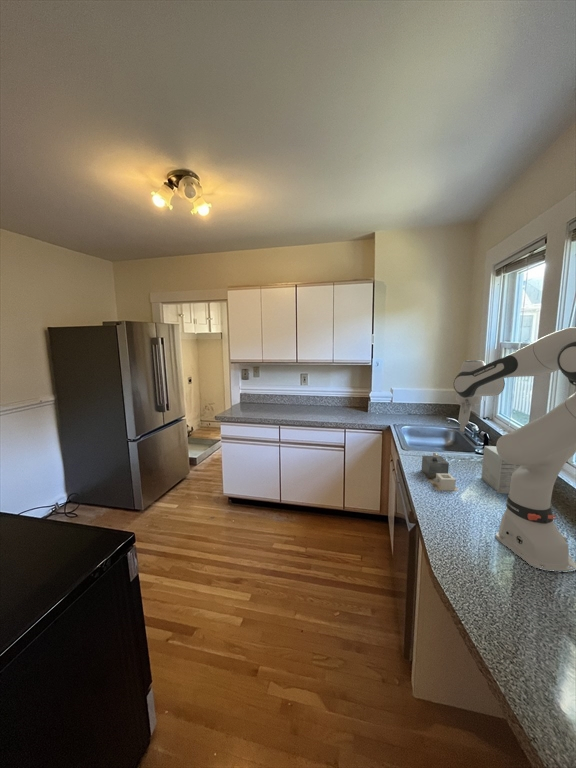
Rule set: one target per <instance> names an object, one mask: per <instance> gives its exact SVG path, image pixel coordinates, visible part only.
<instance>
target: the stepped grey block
mask: <svg viewBox="0 0 576 768" xmlns="http://www.w3.org/2000/svg"><path fill="white" fill-rule="evenodd" d="M421 457H422V458H421V469H420V472H421V471H422V472H423V473H424V474H425V475H424V474H423V473H422V472H421V473H422V474H423V475H424V477H427V478H428V479H436V473H444V474H449V470H450V469H449V468H450V467H449V466H450V462H448V461H447V460H446V459H444V457H442V456H441V455H439V453H437V452H433V453H432V455H422V456H421ZM427 478H426V479H427ZM428 479H427V480H428Z"/></svg>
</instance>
